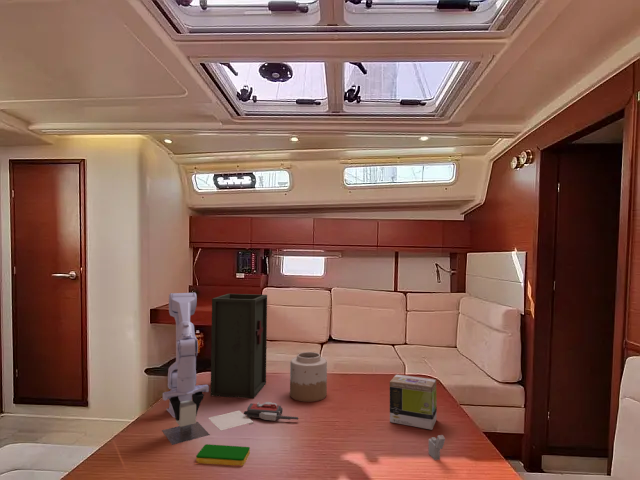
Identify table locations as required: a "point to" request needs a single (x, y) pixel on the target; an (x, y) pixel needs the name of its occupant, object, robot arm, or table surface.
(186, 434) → the post base
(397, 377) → the tea box
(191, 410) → the pale grey cube box
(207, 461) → the dish sponge
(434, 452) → the lighter
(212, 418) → the mat
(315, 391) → the vase
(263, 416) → the chainsaw
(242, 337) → the dark green tall box
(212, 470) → the table surface
